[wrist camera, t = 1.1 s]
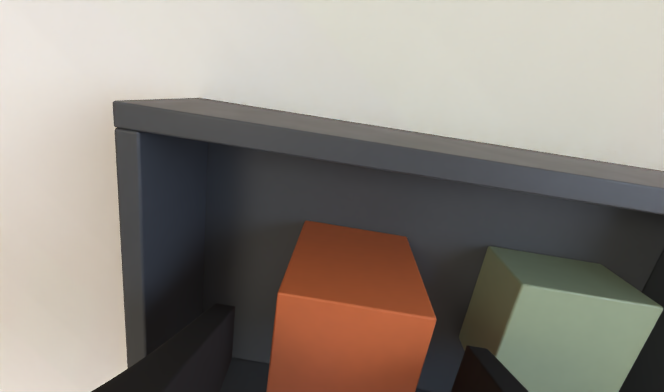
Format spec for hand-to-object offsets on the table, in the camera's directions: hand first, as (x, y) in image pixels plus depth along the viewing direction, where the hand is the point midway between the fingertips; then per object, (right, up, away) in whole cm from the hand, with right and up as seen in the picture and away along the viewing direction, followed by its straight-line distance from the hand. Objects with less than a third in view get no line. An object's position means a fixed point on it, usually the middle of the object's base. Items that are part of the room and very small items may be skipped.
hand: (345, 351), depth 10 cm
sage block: (+8, 0, +4) cm, 9 cm away
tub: (+3, +1, +5) cm, 6 cm away
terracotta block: (0, +1, +5) cm, 5 cm away
